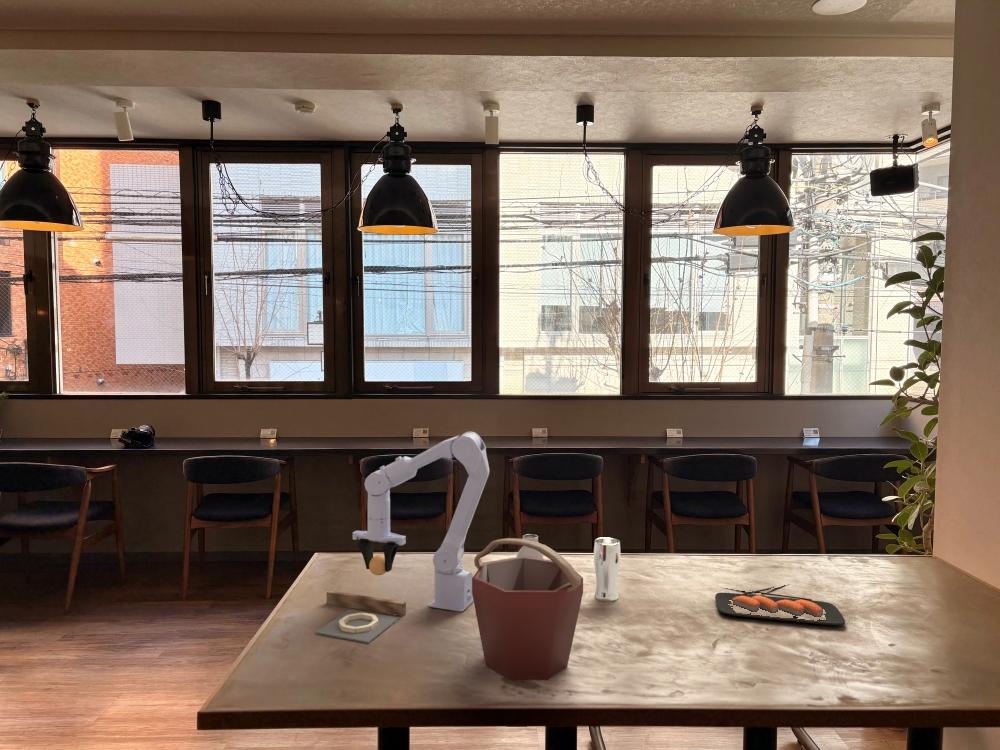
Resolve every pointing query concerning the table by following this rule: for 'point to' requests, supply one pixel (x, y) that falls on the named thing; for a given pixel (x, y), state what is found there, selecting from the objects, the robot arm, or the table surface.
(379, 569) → the ball
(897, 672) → the table surface
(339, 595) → the fence
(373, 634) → the cradle
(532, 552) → the plastic bottle
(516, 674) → the bucket
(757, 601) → the sushi plate
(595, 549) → the beer glass
